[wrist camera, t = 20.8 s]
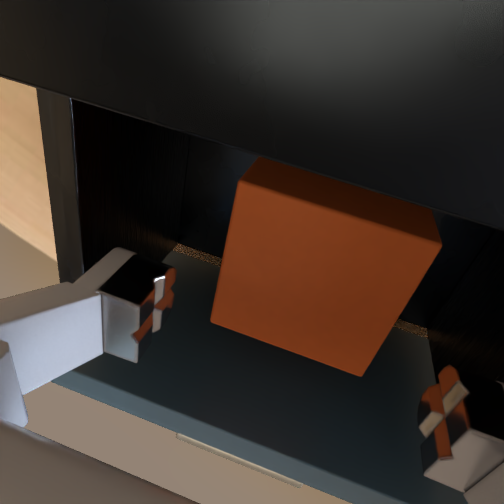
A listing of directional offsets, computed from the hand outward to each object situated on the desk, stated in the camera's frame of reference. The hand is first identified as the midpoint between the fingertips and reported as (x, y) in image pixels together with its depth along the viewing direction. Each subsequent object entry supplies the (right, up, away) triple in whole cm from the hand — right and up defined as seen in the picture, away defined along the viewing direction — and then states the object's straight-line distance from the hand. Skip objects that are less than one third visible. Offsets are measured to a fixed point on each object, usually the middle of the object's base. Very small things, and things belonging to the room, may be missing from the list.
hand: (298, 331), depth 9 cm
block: (+2, +3, +5) cm, 7 cm away
